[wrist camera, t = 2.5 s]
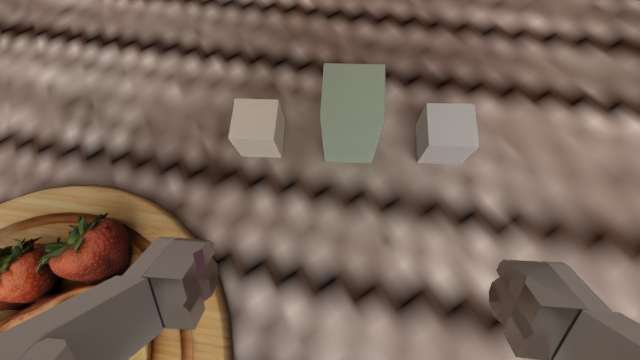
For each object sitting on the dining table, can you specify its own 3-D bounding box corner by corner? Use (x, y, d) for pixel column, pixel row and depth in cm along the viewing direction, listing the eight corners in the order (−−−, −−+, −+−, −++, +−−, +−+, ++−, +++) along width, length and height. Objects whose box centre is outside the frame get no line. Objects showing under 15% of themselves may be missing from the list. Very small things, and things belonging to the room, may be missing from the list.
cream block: (285, 121, 31) (278, 99, 27) (281, 158, 30) (273, 140, 26) (247, 120, 31) (235, 98, 27) (241, 156, 30) (227, 138, 26)
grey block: (456, 126, 30) (474, 104, 26) (460, 164, 28) (479, 146, 25) (415, 125, 30) (426, 103, 26) (416, 163, 29) (428, 145, 25)
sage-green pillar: (372, 121, 30) (385, 64, 22) (371, 163, 29) (385, 119, 21) (327, 120, 30) (323, 63, 22) (324, 161, 29) (319, 117, 21)
